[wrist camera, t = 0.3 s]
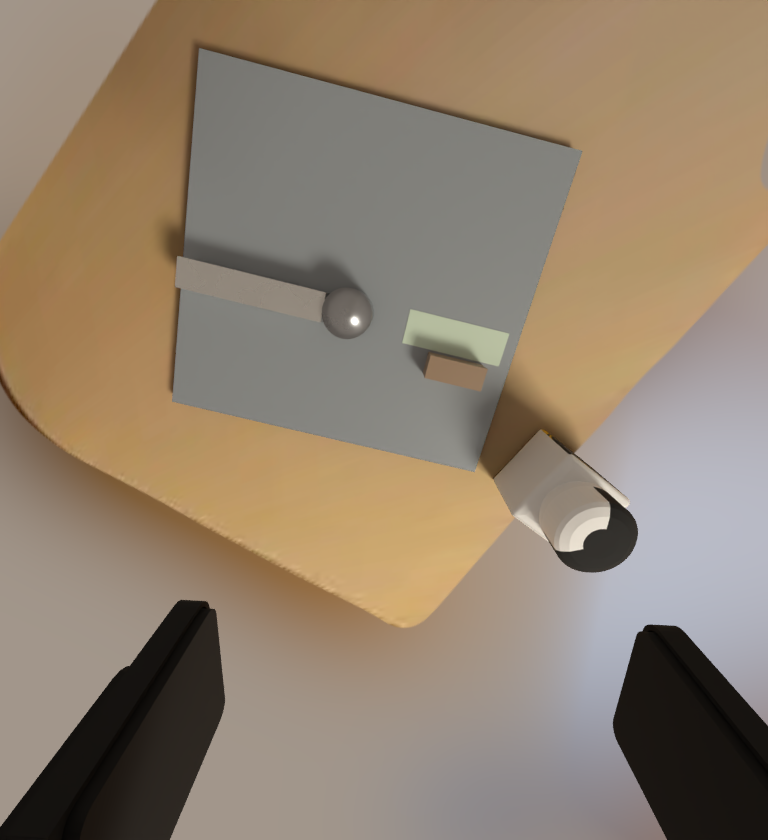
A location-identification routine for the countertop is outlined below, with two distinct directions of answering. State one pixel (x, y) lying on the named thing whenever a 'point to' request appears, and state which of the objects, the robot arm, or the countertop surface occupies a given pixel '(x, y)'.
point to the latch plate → (361, 258)
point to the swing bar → (279, 296)
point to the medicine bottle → (568, 505)
